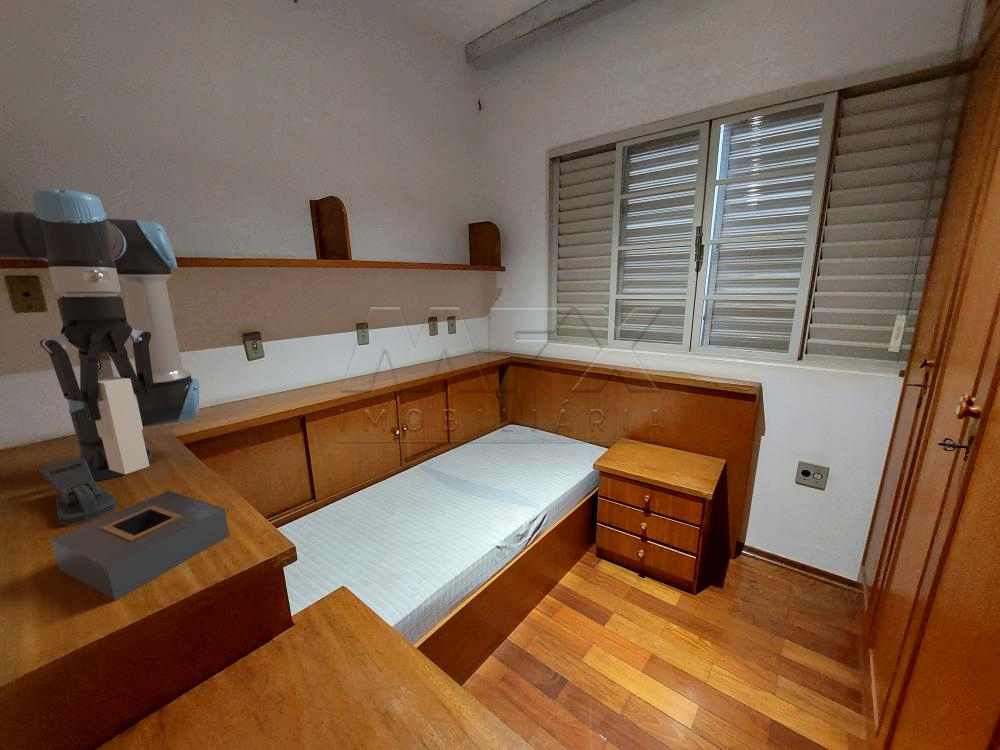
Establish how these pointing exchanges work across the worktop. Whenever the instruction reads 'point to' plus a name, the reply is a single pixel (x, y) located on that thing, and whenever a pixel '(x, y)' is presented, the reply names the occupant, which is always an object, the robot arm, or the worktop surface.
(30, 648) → the worktop surface
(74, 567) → the block
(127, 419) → the white rectangular bar
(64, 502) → the zipper slider
